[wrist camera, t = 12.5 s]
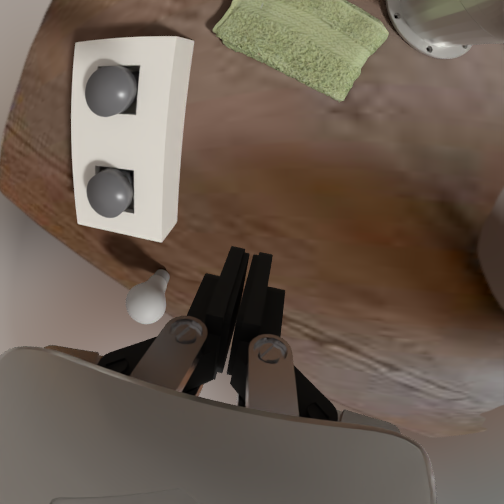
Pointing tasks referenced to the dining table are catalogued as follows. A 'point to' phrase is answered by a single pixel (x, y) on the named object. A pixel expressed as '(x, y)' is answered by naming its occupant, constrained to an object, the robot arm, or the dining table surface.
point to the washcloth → (305, 39)
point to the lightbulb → (148, 298)
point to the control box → (133, 131)
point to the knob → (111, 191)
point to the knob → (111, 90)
